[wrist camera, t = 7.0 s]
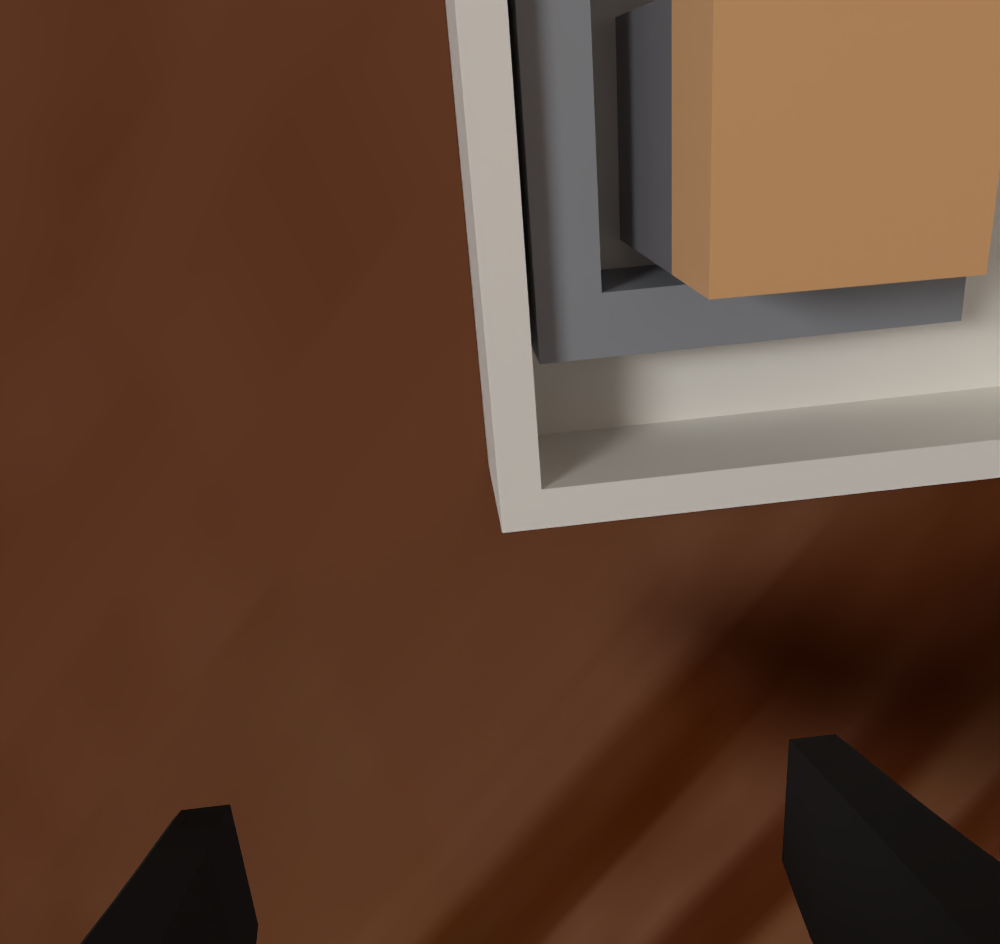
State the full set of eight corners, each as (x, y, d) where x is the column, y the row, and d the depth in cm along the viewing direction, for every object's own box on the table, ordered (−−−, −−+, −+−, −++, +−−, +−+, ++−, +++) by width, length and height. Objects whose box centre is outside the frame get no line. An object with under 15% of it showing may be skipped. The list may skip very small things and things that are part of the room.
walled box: (1197, -228, 17) (1386, -309, 13) (1089, 399, 21) (1211, 453, 18) (429, -172, 16) (433, -242, 13) (488, 464, 21) (502, 532, 17)
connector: (827, 1, 17) (1027, -47, 11) (815, 222, 18) (985, 274, 13) (615, 17, 17) (714, -25, 11) (620, 239, 18) (708, 299, 13)
